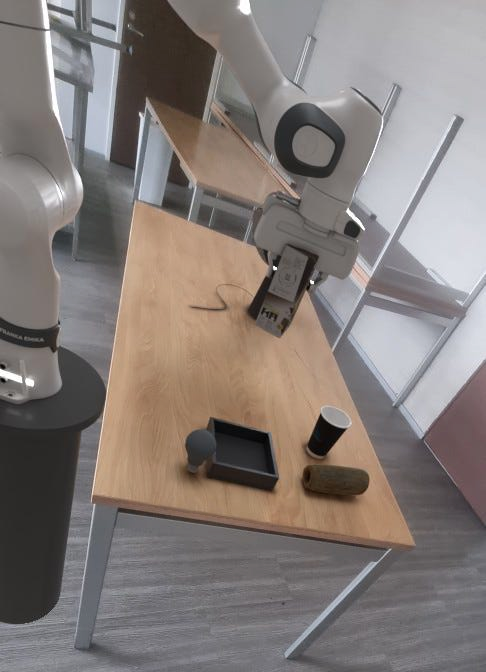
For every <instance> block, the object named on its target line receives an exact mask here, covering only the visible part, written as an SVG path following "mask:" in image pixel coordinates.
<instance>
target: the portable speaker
mask: <svg viewBox="0 0 486 672" xmlns="http://www.w3.org/2000/svg"><path fill="white" fill-rule="evenodd" d="M302 481H303V485H304V487H305V488H306V489H307V490H310V491H312V492H317V493H322V494H323V493H325V494H331V495H341V496H361V495H363V494H365V493H366V492H367V491H368V488H369V486H370V476H369V473H368V472H367V471H366V470H365V469H362V468H357V467H351V466H343V465H334V464H321V463H320V464H317V463H314V464H308V465H306V466H305V467H304V468H303V471H302Z"/></svg>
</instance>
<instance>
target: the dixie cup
mask: <svg viewBox="0 0 486 672" xmlns="http://www.w3.org/2000/svg"><path fill="white" fill-rule="evenodd" d="M352 424H353V423H352V419H351V418H350V416H349V415H348V414H347V413H346V412H345V411H343V410H342V409H340V408H338V407H336V406H332V405H324V406H322V407H321V408H320V413H319V415H318V418H317V420H316V422H315V425H314V427H313V429H312V431H311V434H310V437H309V439H308V441H307V446H306V452H307V453H308V455H310V456H311V457H312V458H315V459H318V460H321V459H324V457H326V456H327V455H328V453H330V451H331V450H332V448H333V447H334V446H335V445H336V443H338V441H339V440H340V439H341V437H342V436H343V435H344V433H345V432H346V431H347V430H348V429H349V428H351V426H352Z"/></svg>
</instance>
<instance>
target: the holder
mask: <svg viewBox="0 0 486 672" xmlns="http://www.w3.org/2000/svg"><path fill="white" fill-rule="evenodd" d="M205 430H207V431H208V432H210V433H211V434H212V435H213V436H214V438H215V441H216V450H215V453H214V454H213V456H212V457H211V458H209V459H207V460H206V477H207V478H212V479H217V480H220V481H225V482H229V483H233V484H234V483H235V484H239V485H244V486H248V487H252V488H257V489H261V490H267V491H271V492H273V491H274V488H275V487H276V486H277V483H278V481H279V480H280V475H279V469H278V464H277V458H276V453H275V446H274V441H273V437H272V432H271V431H267V430H264V429H259V428H255V427H251V426H248V425H244V424H240V423H236V422H233V421H229V420H225V419H221V418H217V417H213V416H210V417H209V419H208V422H207V425H206V427H205Z"/></svg>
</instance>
